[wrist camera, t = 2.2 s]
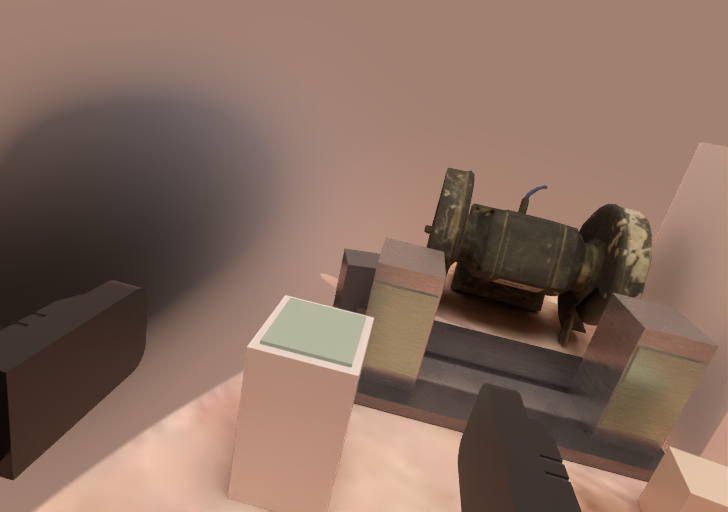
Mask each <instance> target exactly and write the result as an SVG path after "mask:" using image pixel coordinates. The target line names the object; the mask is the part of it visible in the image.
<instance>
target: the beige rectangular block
mask: <svg viewBox="0 0 728 512" xmlns="http://www.w3.org/2000/svg"><path fill="white" fill-rule="evenodd" d="M638 504H639V507H640V510H641V512H728V467H726V466H724V465H721V464H718V463H715V462H712V461H709V460H707V459H704V458H701V457H698V456H695V455H693V454H690V453H687V452H684V451H681V450H679V449H676V448H673V447H670V446H669V447H668V449H667V451H666V453H665V454H664V456H663V458H662V459H661V461H660V463H659V465H658V466H657V468H656V470H655V472H654V473H653V475H652V477H651V479H650V480H649V482H648V484H647V485H646V487H645V489H644V491H643V492H642V494H641V496H640V498H639V499H638Z"/></svg>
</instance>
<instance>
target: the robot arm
mask: <svg viewBox="0 0 728 512" xmlns="http://www.w3.org/2000/svg"><path fill="white" fill-rule="evenodd" d="M147 310H148V294H147V292H146V290H145V289H143V288H139V287H135V286H132V285H128V284H124V283H120V282H117V281H109V282H106V283H104V284H103V285H101V286H99V287H97V288H95V289H94V290H92V291H90V292H88V293H86V294H84V295H83V294H82V295H78V296H74V297H70V298H67V299H63V300H59V301H56V302H54V303H52V304H50V305H48V306H46V307H44V308H42V309H41V310H39V311H37V312H35V314H34V315H29V316H28V317H25V318H24V319H22V320H20V321H18V323H17V324H16V325H14V324H12V325H10V326H9V327H7V328H5V329H3V330H1V331H0V477H4V478H7V479H11V480H14V479H15V478H17V476H19V475H20V474H21V473H22V472H23V471H24V470H25V469H26V468H28V467H29V466H30V465H31V464H32V463H33V462H34V461H35V460H36V459H38V458H39V457H40V456H41V455H42V454H43V453H44V452H45V451H46V450H47V449H48V448H50V447H51V446H52V445H53V444H54V443H55V442H56V441H57V440H58V439H60V438H61V437H62V436H63V435H64V434H65V433H66V432H67V431H68V430H70V429H71V428H72V427H73V426H74V425H75V424H76V423H77V422H78V421H79V420H81V419H82V418H83V417H84V416H85V415H86V414H87V413H88V412H89V411H90V410H92V409H93V408H94V407H95V406H96V405H97V404H98V403H99V402H100V401H102V400H103V399H104V398H105V397H106V396H107V395H108V394H109V393H110V392H111V391H113V389H115V387H117V386H118V385H119V384H120V383H121V382H122V381H124V380H125V379H126V378H127V377H128V376H129V375H130V374H131V373H132V372H133V371H134V370H135V369H136V367H137V366H138V364H139V363H140V361H141V359H142V356H143V354H144V350H145V342H146V326H147ZM458 472H459V485H460V497H461V510H462V512H581V509H580V506H579V503H578V501H577V498H576V495H575V493H574V490H573V487H572V485H571V482H569V481H568V480H569V477H568V474H567V471H566V469H565V466H564V465H563V464H562V458H561V455H560V453H559V450H558V447H557V445H556V442H555V440H554V439H553V438H552V436H551V435H550V434H549V433H548V431H547V430H546V429H545V428H544V426H543V425H542V424H541V423H540V422H539V421H537V420H534V419H530V418H528V417H527V414H526V410H525V407H524V404H523V401H522V398H521V395H520V393H519V392H518V391H514V390H511V389H507V388H503V387H500V386H496V385H492V384H489V383H484V384H483V385H482V387H481V389H480V391H479V393H478V396H477V399H476V401H475V404H474V406H473V409H472V412H471V414H470V417H469V420H468V422H467V425H466V428H465V430H464V433H463V436H462V439H461V443H460V447H459V454H458Z"/></svg>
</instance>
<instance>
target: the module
mask: <svg viewBox="0 0 728 512" xmlns="http://www.w3.org/2000/svg"><path fill="white" fill-rule="evenodd" d="M373 321H374V317H370V316H366V315H362V314H358V313H354V312H350V311H346V310H342V309H338V308H334V307H330V306H326V305H322V304H319V303H315V302H311V301H306V300H303V299H298V298H295V297H291V296H287V295H285V296H284V298H283V299H282V301H281V302H280V303H279V305H278V306H277V307H276V309H275V310H274V311H273V313H272V314H271V316H270V317H269V318H268V319H267V321H266V322H265V323H264V325H263V326H262V327H261V329H260V330H259V332H258V333H257V334H256V336H255V337H254V338H253V340H252V341H251V342H250V344H249V345H248V346H247V351H246V359H245V367H244V375H243V382H242V390H241V398H240V406H239V413H238V421H237V429H236V437H235V444H234V452H233V460H232V468H231V476H230V483H229V491H228V499H231V500H235V501H238V502H242V503H245V504H249V505H252V506H256V507H259V508H263V509H266V510H270V511H273V512H327V508H328V504H329V500H330V496H331V492H332V488H333V484H334V480H335V477H336V473H337V469H338V465H339V461H340V457H341V453H342V449H343V445H344V441H345V437H346V433H347V428H348V424H349V420H350V416H351V412H352V408H353V404H354V399H355V395H356V391H357V387H358V383H359V379H360V375H361V370H362V366H363V362H364V358H365V354H366V350H367V346H368V341H369V337H370V333H371V329H372V325H373Z"/></svg>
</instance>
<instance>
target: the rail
mask: <svg viewBox="0 0 728 512" xmlns="http://www.w3.org/2000/svg"><path fill="white" fill-rule="evenodd" d="M445 281H446V270H445V257H444V252H443V251H439V250H434V249H430V248H426V247H422V246H418V245H414V244H409V243H405V242H401V241H397V240H393V239H389V238H386V239H385V242H384V245H383V248H382V251H381V254H380V257H379V260H378V264H377V268H376V272H375V277H374V281H373V285H372V289H371V294H370V298H369V302H368V304H367V303H363V302H360V303H359V306H358V310H357V313H358V314H362V315H366V316H370V317H374V321H373V325H372V329H371V333H370V337H369V341H368V346H367V350H366V354H365V358H364V362H363V366H362V370H361V375H360V379H359V383H358V387H357V391H356V395H355V399H354V403H356V404H360V405H363V406H367V407H371V408H375V409H378V410H382V411H386V412H390V413H393V414H397V415H401V416H405V417H408V418H412V419H416V420H419V421H423V422H427V423H431V424H434V425H438V426H442V427H446V428H449V429H453V430H457V431H461V432H464V430H465V428H466V425H467V422H468V420H469V417H470V414H471V412H472V409H473V406H474V404H475V401H476V399H477V396H478V393H479V391H480V389H481V387H482V385H483V384H484V383H489V384H492V385H496V386H500V387H503V388H507V389H511V390H514V391H518V392H519V393H520V395H521V398H522V401H523V404H524V407H525V410H526V414H527V417H528V418H530V419H534V420H537V421H539V422H540V423H541V424H542V425H543V426H544V428H545V429H546V430H547V431H548V433H549V434H550V435H551V436H552V438H553V439H554V440H555V442H556V445H557V447H558V450H559V453H560V455H561V458H562V459H565V460H569V461H573V462H577V463H580V464H584V465H588V466H591V467H595V468H599V469H603V470H606V471H610V472H614V473H618V474H621V475H625V476H629V477H633V478H636V479H640V480H644V481H648V482H649V480H650V479H651V477H652V475H653V473H654V472H655V470H656V468H657V466H658V465H659V463H660V461H661V459H662V458H663V456H664V454H665V453H664V452H663V450H662V449H661V446H662V445H663V443H664V441H665V439H666V438H667V436H668V434H669V432H670V431H671V429H672V427H673V425H674V424H675V422H676V420H677V418H678V417H679V415H680V413H681V411H682V410H683V408H684V406H685V404H686V403H687V401H688V399H689V397H690V396H691V394H692V392H693V390H694V389H695V387H696V385H697V383H698V382H699V380H700V378H701V376H702V375H703V373H704V371H705V369H706V368H707V366H708V364H709V362H710V361H711V359H712V357H713V355H714V354H715V352H716V350H717V348H718V347H719V346H718V345H717V344H716V343H715V342H714V341H712V340H711V339H710V338H709V337H708V336H707V335H705V334H704V333H703V332H702V331H701V330H700V329H699V328H697V327H696V326H695V325H694V324H693V323H692V322H691V321H689V320H688V319H687V318H686V317H685V316H684V315H682V314H681V313H680V312H679V311H678V310H677V309H676V308H674V307H670V306H666V305H662V304H658V303H653V302H649V301H645V300H641V299H637V298H633V297H629V296H624V295H620V294H616V293H612V295H611V297H610V299H609V301H608V304H607V306H606V308H605V310H604V312H603V315H602V317H601V319H600V321H599V324H598V326H597V328H596V330H595V332H594V335H593V337H592V339H591V341H590V344H589V346H588V348H587V350H586V352H585V355H584V357H583V358H581V357H577V356H573V355H569V354H565V353H562V352H558V351H554V350H550V349H546V348H542V347H538V346H534V345H530V344H526V343H522V342H518V341H514V340H510V339H506V338H502V337H498V336H494V335H490V334H486V333H482V332H478V331H474V330H470V329H466V328H462V327H458V326H455V325H451V324H447V323H443V322H439V321H435V320H434V318H435V315H436V312H437V308H438V305H439V302H440V298H441V295H442V291H443V288H444V285H445Z"/></svg>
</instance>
